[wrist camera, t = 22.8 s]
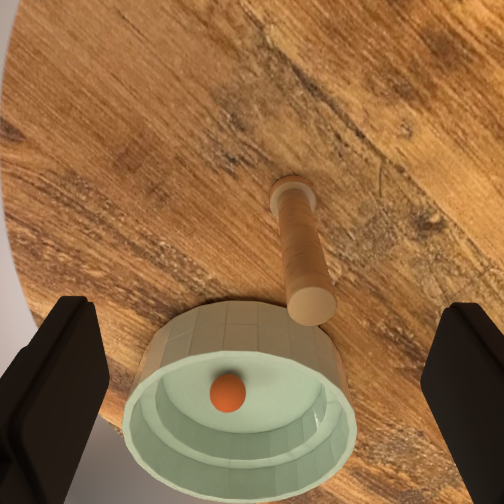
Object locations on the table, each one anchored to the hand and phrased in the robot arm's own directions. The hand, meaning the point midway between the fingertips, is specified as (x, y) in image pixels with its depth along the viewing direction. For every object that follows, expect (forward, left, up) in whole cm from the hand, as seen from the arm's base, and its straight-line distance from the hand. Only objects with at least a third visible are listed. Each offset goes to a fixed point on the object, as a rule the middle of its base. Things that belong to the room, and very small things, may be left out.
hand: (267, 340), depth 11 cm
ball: (-2, -19, -15) cm, 24 cm away
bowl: (-1, -19, -17) cm, 25 cm away
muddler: (+2, -2, -17) cm, 17 cm away
